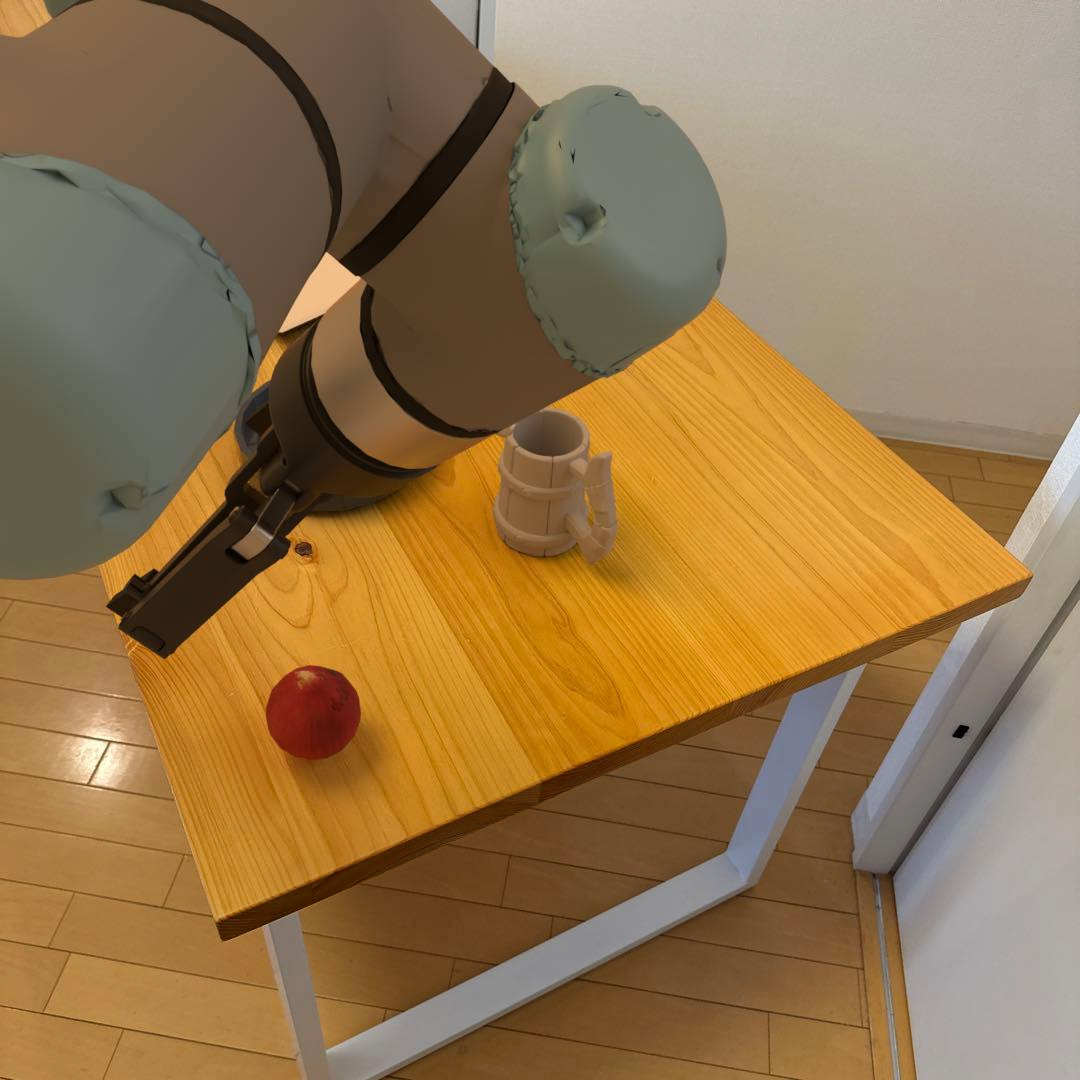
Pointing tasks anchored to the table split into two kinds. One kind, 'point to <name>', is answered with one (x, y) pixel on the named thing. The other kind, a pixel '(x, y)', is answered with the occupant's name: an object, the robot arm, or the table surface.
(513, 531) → the mug
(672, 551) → the table surface
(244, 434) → the bowl
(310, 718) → the onion
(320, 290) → the plate
